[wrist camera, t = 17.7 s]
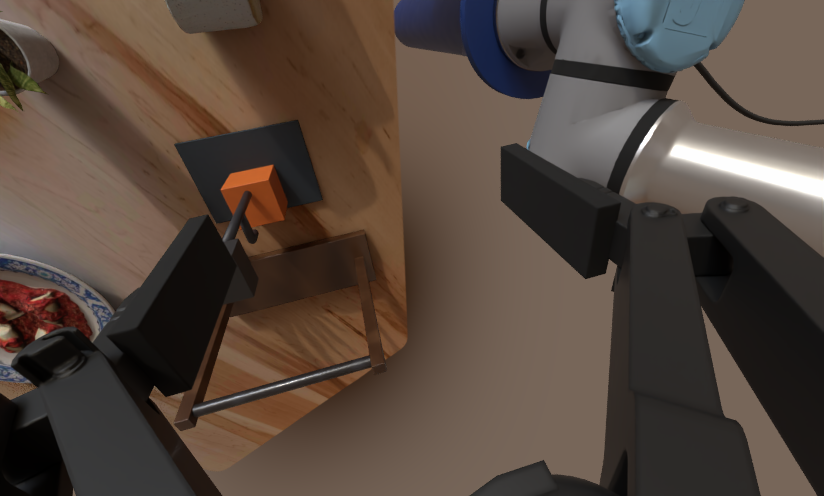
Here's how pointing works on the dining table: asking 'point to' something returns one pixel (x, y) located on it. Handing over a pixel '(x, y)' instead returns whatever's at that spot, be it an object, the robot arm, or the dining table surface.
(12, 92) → the house plant
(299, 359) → the dining table surface
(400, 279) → the dining table surface
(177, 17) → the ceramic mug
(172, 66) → the dining table surface
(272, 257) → the rack
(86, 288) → the ceramic plate
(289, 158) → the mat
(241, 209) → the orange block with hook
